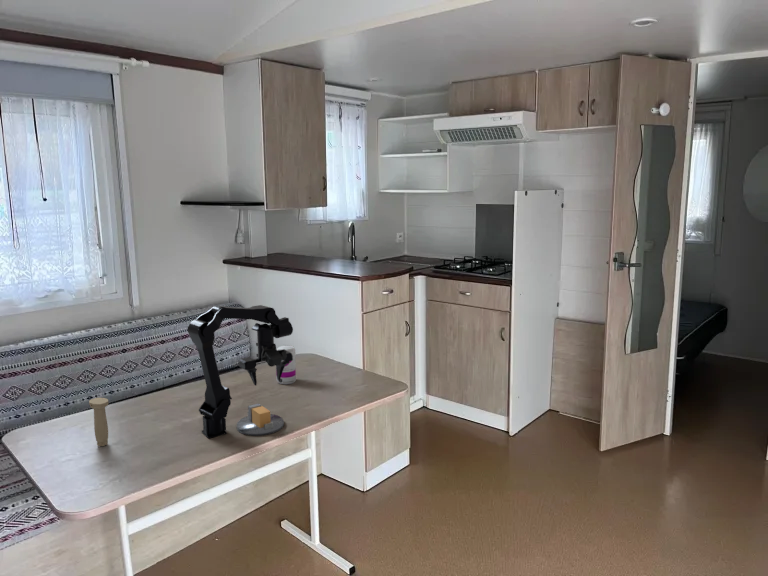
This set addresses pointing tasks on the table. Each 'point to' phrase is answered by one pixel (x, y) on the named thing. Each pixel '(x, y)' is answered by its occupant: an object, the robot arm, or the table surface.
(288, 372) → the supplement can
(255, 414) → the tan and grey block
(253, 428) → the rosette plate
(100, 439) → the handle
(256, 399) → the table surface
